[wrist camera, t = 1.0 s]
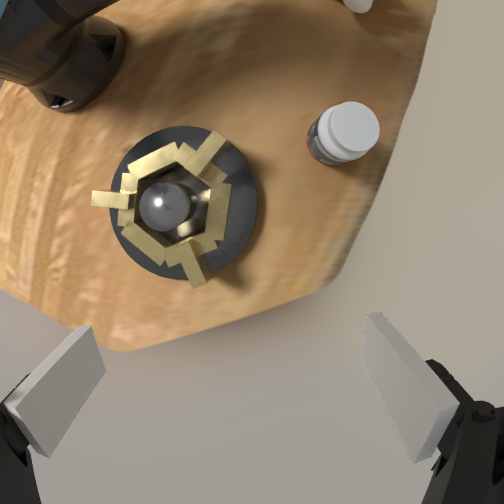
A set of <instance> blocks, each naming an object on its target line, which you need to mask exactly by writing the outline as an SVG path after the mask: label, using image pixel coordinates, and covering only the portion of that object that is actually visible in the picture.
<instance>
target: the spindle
mask: <svg viewBox="0 0 504 504" xmlns="http://www.w3.org/2000/svg"><path fill="white" fill-rule="evenodd" d="M196 210H197V197H196V195H195V193H194V191H193V190H192V189H191V188H190V187H189V186H187V185H185V184H180V183H156V184H153V185H152V186H150V187H149V188H148V189H146V191H145V192H144V193H143V195H142V197H141V200H140V214H141V217H142V219H143V221H144V222H145V223H146V224H147V225H148V226H149V227H150V228H152V229H154V230H157V231H168V230H171V229H173V228H175V227H177V226H179V225H181V224H183V223H185V222H187V221H188V220H190V219H191V218H192V217H193V215H194V214H195V212H196Z"/></svg>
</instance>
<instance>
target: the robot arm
mask: <svg viewBox="0 0 504 504" xmlns="http://www.w3.org/2000/svg"><path fill="white" fill-rule="evenodd" d="M117 1H119V0H0V78H1V79H4V80H7V81H11V82H14V83H17V84H20V85H23V86H26V87H27V88H28V89H29V90H30V92H31V93H32V94H33V95H34V96H35V97H36V98H37V99H38V101H39V102H40V103H41V104H42V105H44V106H45V107H47V108H50V109H53V110H56V111H60V112H68V111H73V110H76V109H78V108H81V107H83V106H85V105H86V104H88V103H89V102H91V101H92V100H93V99H95V98H96V97H97V96H98V95H99V94H100V93H101V92H102V91H103V90H104V89H105V88H106V87H107V86H108V84H109V83H110V82H111V80H112V79H113V77H114V76H115V74H116V72H117V71H118V69H119V66H120V64H121V61H122V58H123V55H124V48H125V43H124V37H123V35H122V33H121V31H120V30H119V29H118V28H117V27H116V26H115V25H114V24H113V23H112V22H111V21H109V20H108V19H105V18H102V17H99V16H95V15H94V14H96V13H97V12H99V11H101V10H103V9H104V8H106V7H108V6H110V5H112V4H114V3H115V2H117ZM360 364H361V366H362V368H363V369H364V371H365V373H366V375H367V377H368V378H369V380H370V382H371V384H372V386H373V388H374V389H375V391H376V393H377V395H378V396H379V399H380V400H381V402H382V404H383V406H384V408H385V410H386V412H387V414H388V416H389V417H390V419H391V421H392V423H393V425H394V427H395V429H396V431H397V433H398V435H399V437H400V438H401V441H402V443H403V445H404V446H405V449H406V450H407V453H408V455H409V457H410V459H411V461H412V463H413V464H414V463H417V462H419V461H422V460H425V459H427V458H429V457H431V456H432V454H433V453H434V451H435V450H436V448H437V447H438V449H439V450H440V452H441V455H440V456H439V458H438V460H437V461H436V463H435V464H434V466H433V467H432V469H431V470H432V471H433V470H434V469H435V470H434V473H433V476H432V478H431V481H430V484H429V486H428V489H427V491H426V494H425V496H424V499H423V501H422V503H421V504H504V407H500V408H495V407H494V406H493V405H492V404H490V403H488V402H485V401H474V400H473V399H472V398H471V397H470V395H469V394H468V393H467V392H466V391H465V390H464V389H463V387H462V386H460V384H459V383H458V382H457V381H456V380H454V377H453V376H452V375H451V374H449V372H448V371H447V370H446V368H444V366H443V365H442V364H440V363H438V362H436V361H435V360H433V359H431V360H427V361H424V360H423V359H422V357H421V356H420V355H419V354H418V353H417V352H416V351H415V349H414V348H413V347H412V346H411V345H410V344H409V343H408V341H407V340H406V339H405V338H404V337H403V336H402V335H401V334H400V333H399V331H398V330H397V329H396V328H395V327H394V326H393V325H392V324H391V323H390V322H389V320H388V319H387V318H386V317H385V316H384V315H383V314H382V313H381V312H379V313H372V314H366V321H365V329H364V338H363V346H362V353H361V360H360ZM105 372H106V369H105V366H104V363H103V361H102V358H101V355H100V352H99V349H98V346H97V343H96V340H95V337H94V333H93V330H92V327H91V326H82V325H80V326H78V327H77V328H76V329H75V330H74V331H73V332H72V333H71V334H70V335H69V336H68V337H67V338H66V339H65V340H64V341H63V342H62V343H61V344H60V345H59V346H58V347H57V348H55V350H53V351H52V352H51V354H50V355H48V357H46V359H44V360H43V361H42V362H41V363H40V364H39V365H38V366H37V367H36V369H35V370H34V371H33V372H31V373H30V374H28V375H26V377H25V378H24V379H23V380H22V381H21V383H19V384H18V385H17V386H16V388H14V389H13V390H12V391H11V392H10V393H9V394H8V396H7V397H6V398H5V399H4V400H3V401H2V402H1V403H0V504H41V500H40V497H39V493H38V489H37V485H36V480H35V475H34V470H33V465H32V460H31V454H30V452H29V450H28V448H27V446H28V445H29V444H31V446H32V447H33V448H34V450H35V451H36V452H37V453H39V454H41V455H43V456H45V457H48V458H50V457H51V455H52V453H53V452H54V450H55V448H56V447H57V445H58V444H59V442H60V440H61V439H62V437H63V436H64V434H65V432H66V431H67V429H68V428H69V426H70V425H71V423H72V421H73V419H74V418H75V417H76V415H77V414H78V412H79V411H80V409H81V407H82V406H83V404H84V403H85V401H86V400H87V398H88V397H89V395H90V394H91V392H92V391H93V390H94V388H95V386H96V385H97V384H98V382H99V381H100V379H101V378H102V376H103V375H104V373H105Z"/></svg>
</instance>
